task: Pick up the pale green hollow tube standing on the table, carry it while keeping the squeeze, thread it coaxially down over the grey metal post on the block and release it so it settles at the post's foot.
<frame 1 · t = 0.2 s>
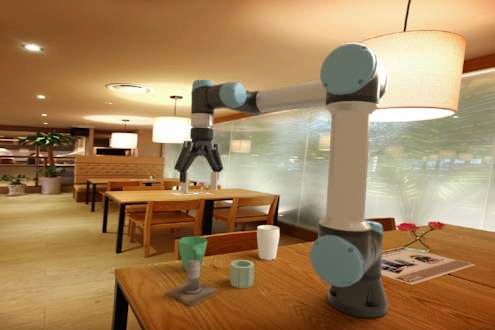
hand: (199, 191, 97), 27 cm above the table, fingers open, 13 cm apart
pale green hollow tube: (241, 282, 91), on the table
shaft block: (192, 293, 82), on the table
cup: (267, 258, 116), on the table
mug: (193, 272, 98), on the table
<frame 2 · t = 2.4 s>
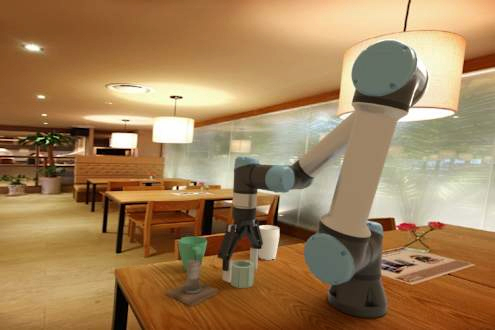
hand: (240, 274, 91), 3 cm above the table, fingers open, 13 cm apart
nothing on the table moved.
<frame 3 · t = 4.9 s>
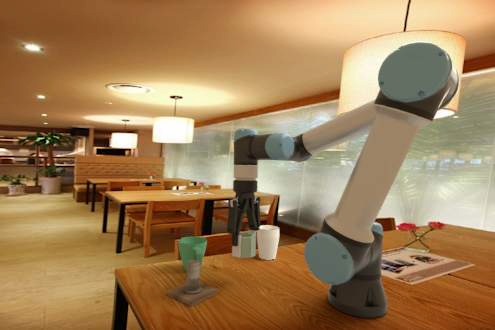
hand: (244, 253, 90), 9 cm above the table, fingers closed on pale green hollow tube, 7 cm apart
pale green hollow tube: (243, 254, 90), point 9 cm above the table, touching gripper
everything else where it was.
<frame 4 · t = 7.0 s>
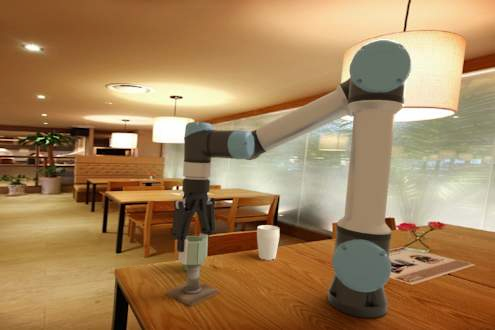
hand: (193, 259, 82), 10 cm above the table, fingers closed on pale green hollow tube, 7 cm apart
pale green hollow tube: (192, 260, 82), point 9 cm above the table, touching gripper
everything else where it was.
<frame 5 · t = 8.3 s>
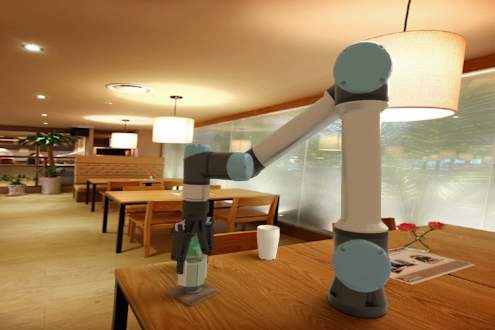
hand: (192, 280, 82), 4 cm above the table, fingers closed on pale green hollow tube, 7 cm apart
pale green hollow tube: (191, 281, 82), point 3 cm above the table, touching gripper
everything else where it was.
when the fingers open (3 cm above the table, at t = 9.4 s): pale green hollow tube stays where it is, resting on shaft block.
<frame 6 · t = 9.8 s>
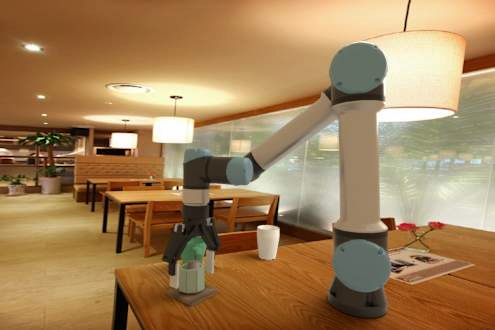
hand: (193, 279, 82), 4 cm above the table, fingers open, 13 cm apart
pale green hollow tube: (192, 287, 82), point 2 cm above the table, touching shaft block
everything else where it was.
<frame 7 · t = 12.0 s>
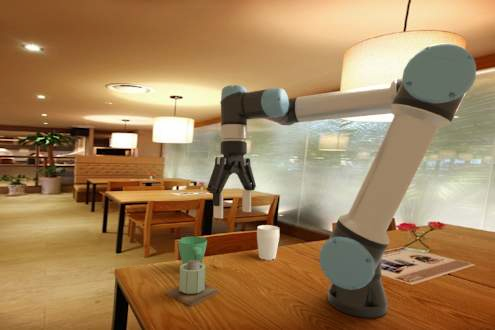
hand: (233, 214, 84), 22 cm above the table, fingers open, 13 cm apart
nothing on the table moved.
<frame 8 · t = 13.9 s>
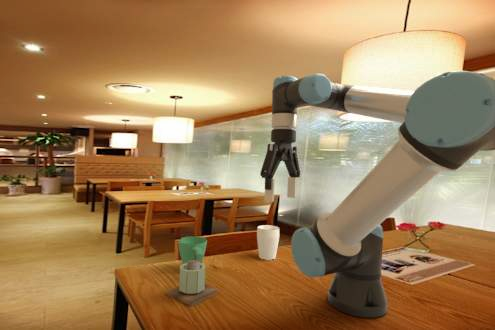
hand: (281, 199, 88), 27 cm above the table, fingers open, 13 cm apart
nothing on the table moved.
at the end: pale green hollow tube 0.3 cm off-centre on the shaft block, point 1.6 cm above the shaft block's base; pale green hollow tube tilted 0°; the gripper is holding nothing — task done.
